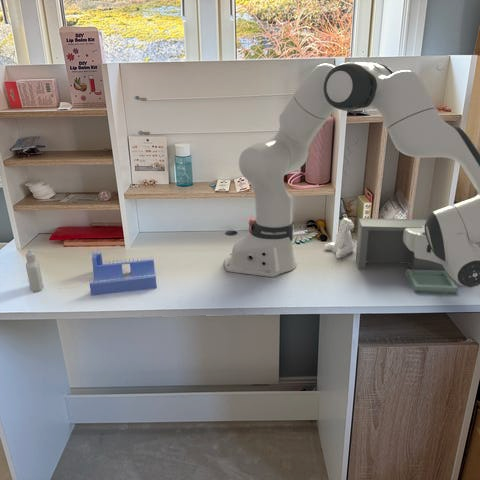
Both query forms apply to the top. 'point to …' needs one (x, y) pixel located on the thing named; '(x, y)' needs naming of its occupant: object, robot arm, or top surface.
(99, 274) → the blue plastic stand
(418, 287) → the tray
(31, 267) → the eye dropper bottle
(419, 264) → the printer housing
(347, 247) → the seated beast figurine
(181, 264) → the top surface
